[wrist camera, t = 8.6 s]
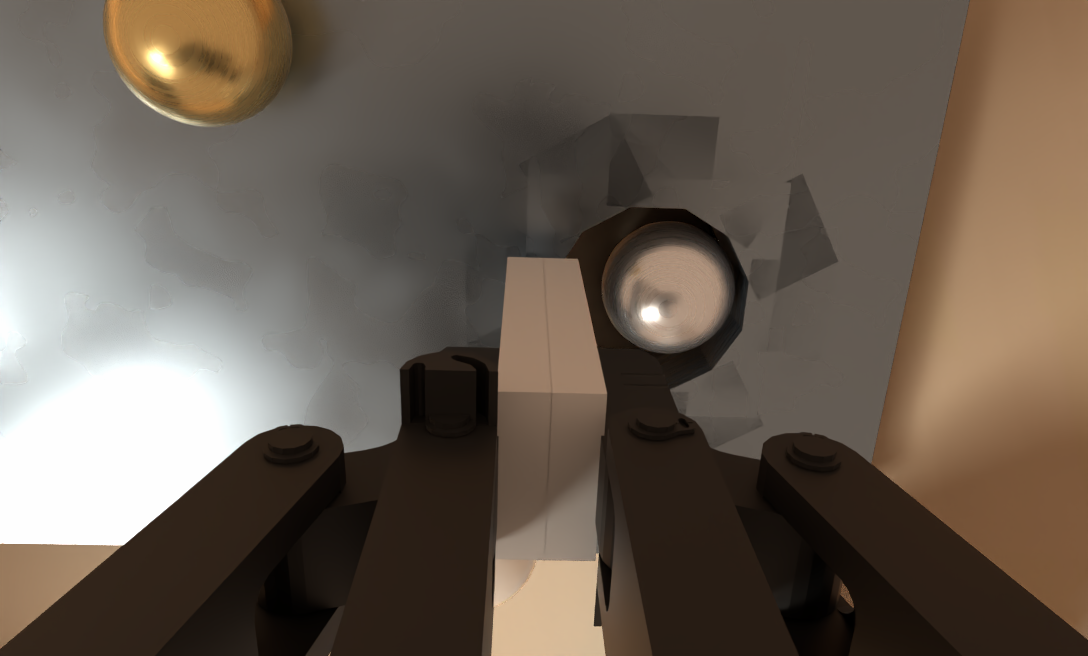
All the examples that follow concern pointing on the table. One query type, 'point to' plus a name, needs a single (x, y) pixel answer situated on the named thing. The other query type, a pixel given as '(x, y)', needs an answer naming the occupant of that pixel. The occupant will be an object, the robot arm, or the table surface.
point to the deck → (440, 222)
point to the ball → (668, 287)
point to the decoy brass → (200, 55)
